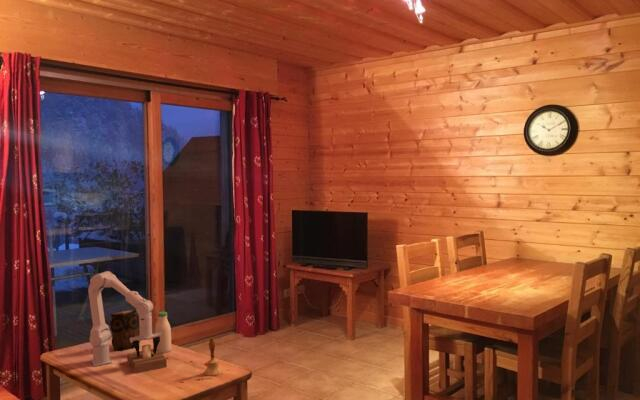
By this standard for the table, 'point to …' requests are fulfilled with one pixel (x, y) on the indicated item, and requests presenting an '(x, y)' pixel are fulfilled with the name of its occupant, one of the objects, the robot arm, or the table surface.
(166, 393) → the table surface
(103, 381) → the table surface
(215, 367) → the hand bell
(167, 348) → the milk bottle
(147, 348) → the cream peg
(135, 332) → the owl
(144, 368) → the walnut holder
